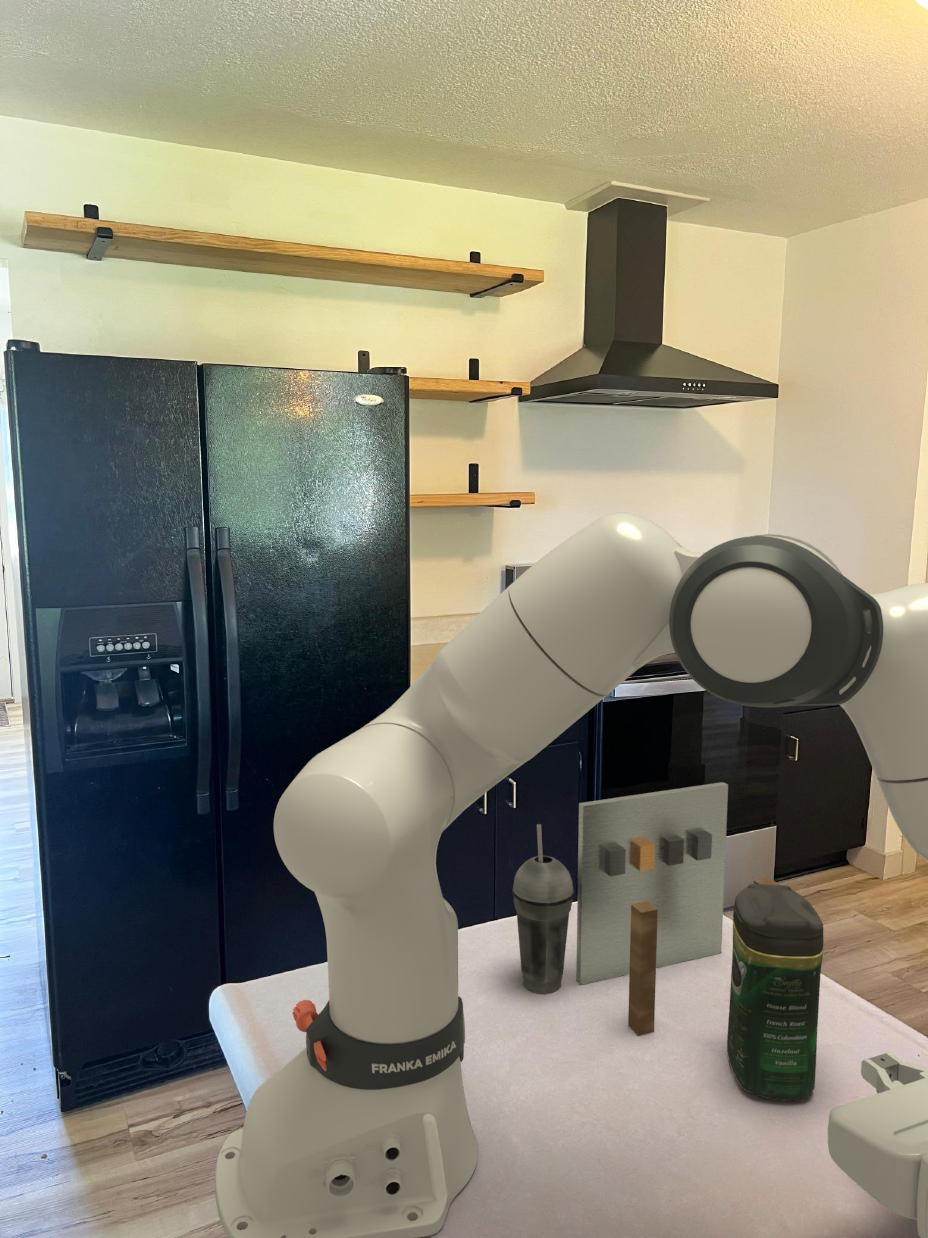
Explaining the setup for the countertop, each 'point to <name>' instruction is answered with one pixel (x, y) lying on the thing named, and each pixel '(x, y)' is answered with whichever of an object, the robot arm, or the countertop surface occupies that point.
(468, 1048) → the countertop surface
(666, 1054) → the countertop surface
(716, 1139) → the countertop surface
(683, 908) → the breaker panel
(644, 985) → the gate
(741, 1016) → the coffee jar
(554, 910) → the beverage cup
